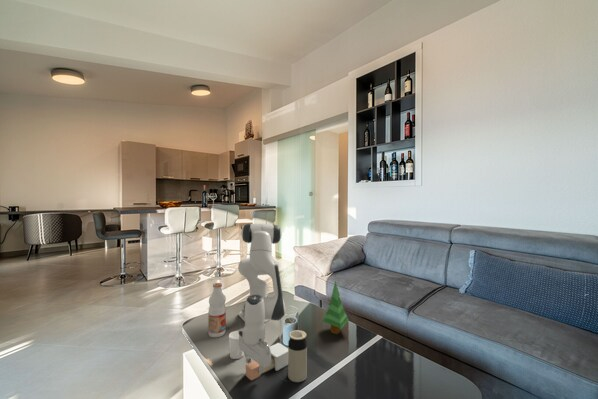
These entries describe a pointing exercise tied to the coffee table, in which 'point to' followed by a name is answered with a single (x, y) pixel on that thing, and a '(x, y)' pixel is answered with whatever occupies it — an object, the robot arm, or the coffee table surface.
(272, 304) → the robot arm
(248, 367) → the block
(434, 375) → the coffee table surface
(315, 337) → the coffee table surface
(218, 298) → the fruit juice
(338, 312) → the decorative tree
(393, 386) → the coffee table surface
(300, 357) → the travel mug
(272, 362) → the rod
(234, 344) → the white cup
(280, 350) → the tunnel
